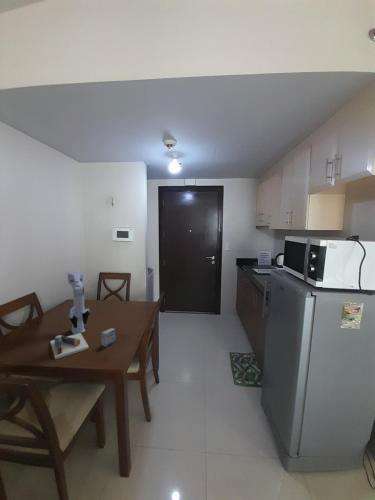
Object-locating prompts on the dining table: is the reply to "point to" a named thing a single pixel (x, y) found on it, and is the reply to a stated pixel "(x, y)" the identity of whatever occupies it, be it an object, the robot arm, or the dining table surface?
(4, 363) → the dining table surface
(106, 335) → the medicine box
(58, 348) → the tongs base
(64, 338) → the tongs arm
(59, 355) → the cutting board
